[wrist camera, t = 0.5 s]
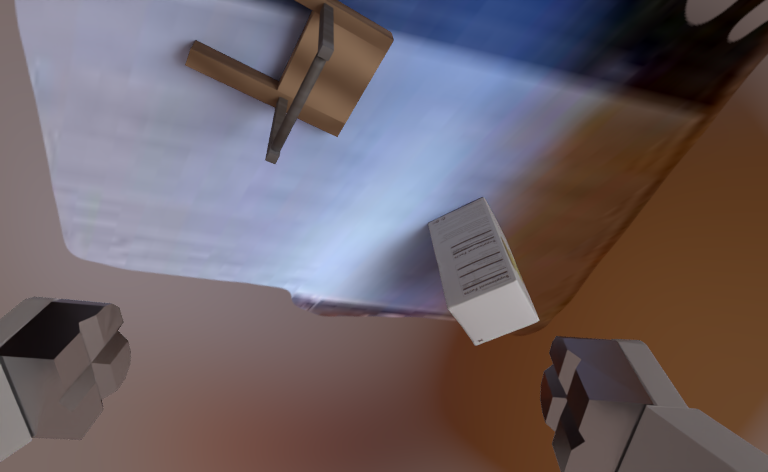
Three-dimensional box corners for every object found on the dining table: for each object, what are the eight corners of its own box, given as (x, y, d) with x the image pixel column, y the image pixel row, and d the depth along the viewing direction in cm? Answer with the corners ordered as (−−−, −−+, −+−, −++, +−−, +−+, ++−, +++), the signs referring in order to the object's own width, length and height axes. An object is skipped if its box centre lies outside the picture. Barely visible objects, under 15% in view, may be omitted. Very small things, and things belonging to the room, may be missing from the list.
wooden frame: (231, -64, 46) (199, -27, 35) (391, 32, 53) (407, 87, 42) (190, 56, 53) (153, 118, 42) (337, 127, 60) (338, 195, 49)
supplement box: (506, 237, 74) (542, 323, 62) (452, 261, 77) (476, 348, 64) (483, 194, 69) (518, 279, 56) (425, 222, 71) (446, 309, 58)
